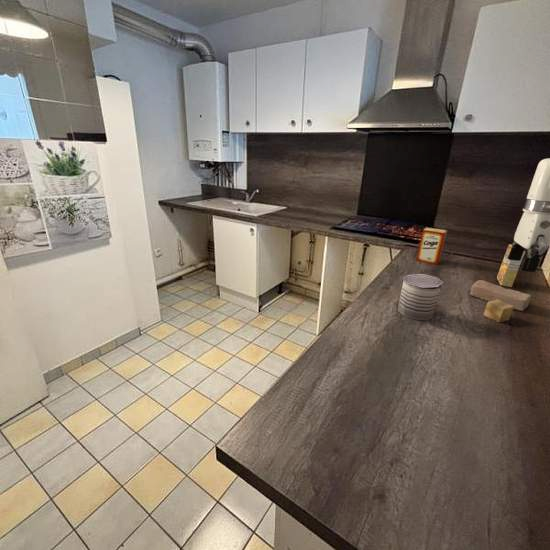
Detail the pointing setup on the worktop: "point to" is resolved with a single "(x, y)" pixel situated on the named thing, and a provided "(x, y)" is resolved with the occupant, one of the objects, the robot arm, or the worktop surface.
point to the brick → (500, 294)
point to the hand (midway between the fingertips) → (520, 265)
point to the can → (419, 296)
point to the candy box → (508, 269)
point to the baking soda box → (431, 245)
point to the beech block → (498, 310)
